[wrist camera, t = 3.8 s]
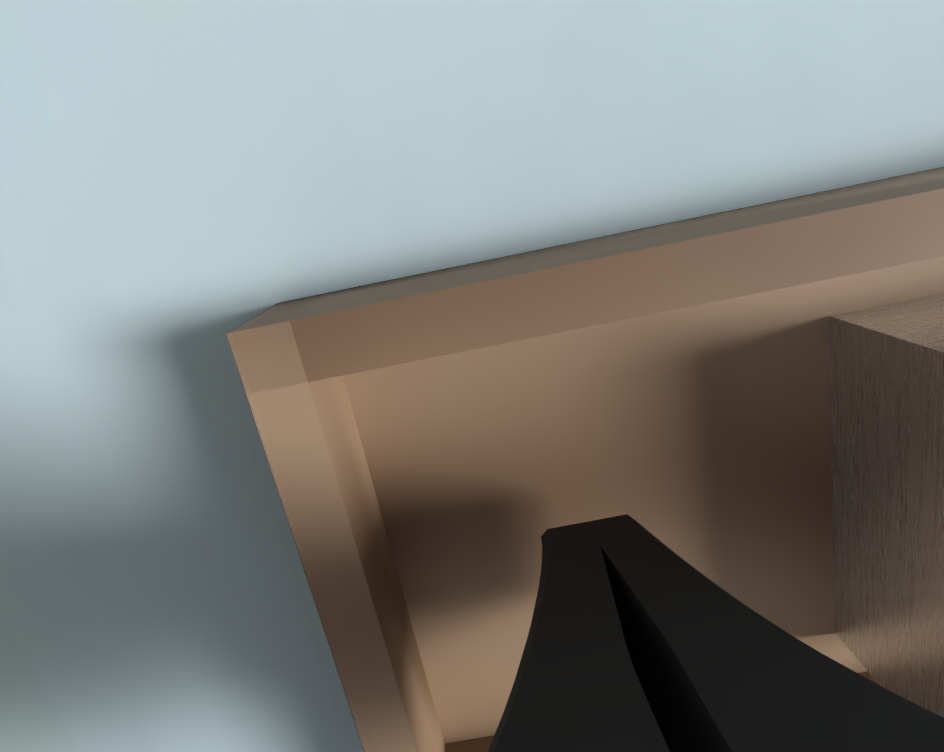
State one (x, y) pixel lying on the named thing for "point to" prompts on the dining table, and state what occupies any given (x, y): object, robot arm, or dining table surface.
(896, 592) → the cover plate
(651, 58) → the dining table surface
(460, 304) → the wooden box
